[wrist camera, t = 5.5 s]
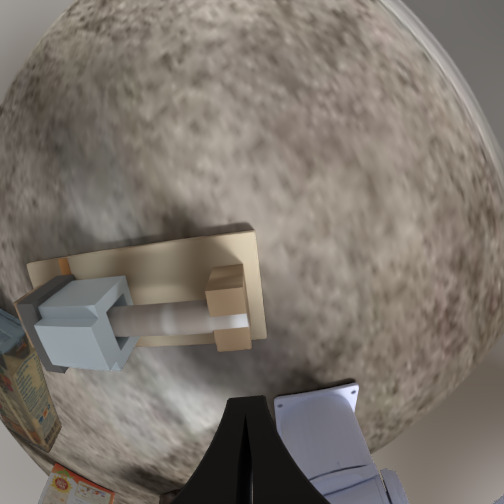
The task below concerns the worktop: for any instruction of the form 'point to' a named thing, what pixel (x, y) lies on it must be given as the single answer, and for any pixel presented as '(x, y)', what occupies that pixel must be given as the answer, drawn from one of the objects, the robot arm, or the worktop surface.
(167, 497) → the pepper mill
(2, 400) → the beverage carton
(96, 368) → the sleeve
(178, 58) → the worktop surface
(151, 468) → the worktop surface
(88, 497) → the cracker box
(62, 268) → the pipe stand
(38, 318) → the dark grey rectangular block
